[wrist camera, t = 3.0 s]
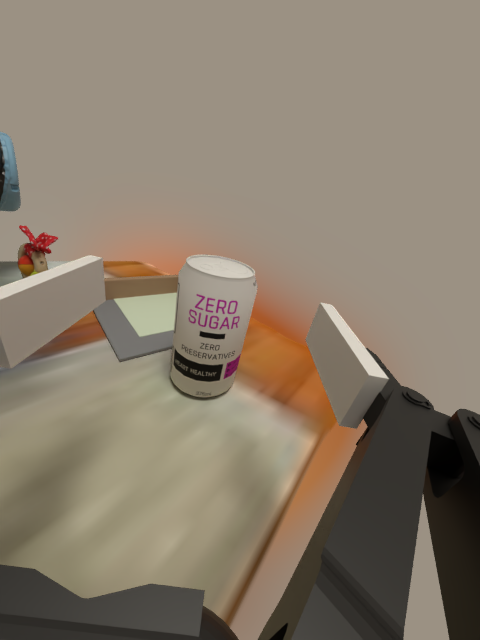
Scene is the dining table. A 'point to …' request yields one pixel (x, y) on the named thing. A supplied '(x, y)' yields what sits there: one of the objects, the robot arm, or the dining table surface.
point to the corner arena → (139, 314)
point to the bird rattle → (34, 253)
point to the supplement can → (210, 323)
